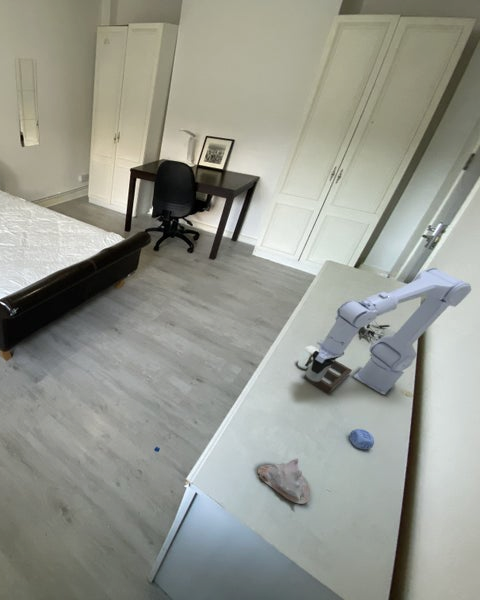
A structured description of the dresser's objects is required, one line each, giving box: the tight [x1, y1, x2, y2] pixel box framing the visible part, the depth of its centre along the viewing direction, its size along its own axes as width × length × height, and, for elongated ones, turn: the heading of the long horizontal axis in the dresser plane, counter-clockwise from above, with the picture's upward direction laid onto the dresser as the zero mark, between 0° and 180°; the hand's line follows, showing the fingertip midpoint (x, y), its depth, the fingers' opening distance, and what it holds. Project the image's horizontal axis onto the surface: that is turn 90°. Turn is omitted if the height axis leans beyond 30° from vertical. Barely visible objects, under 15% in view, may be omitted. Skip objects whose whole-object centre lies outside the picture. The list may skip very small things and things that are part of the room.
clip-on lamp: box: [358, 319, 397, 342], centre depth 135 cm, size 12×6×18 cm
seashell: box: [257, 457, 310, 505], centre depth 81 cm, size 10×12×9 cm
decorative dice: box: [349, 428, 375, 450], centre depth 94 cm, size 4×4×4 cm
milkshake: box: [297, 345, 319, 370], centre depth 117 cm, size 4×5×10 cm
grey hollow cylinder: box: [305, 357, 337, 382], centre depth 105 cm, size 4×4×10 cm
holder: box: [303, 360, 353, 395], centre depth 115 cm, size 8×16×3 cm, turn 124°
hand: (318, 368), depth 106 cm, fingers closed on grey hollow cylinder, 4 cm apart
